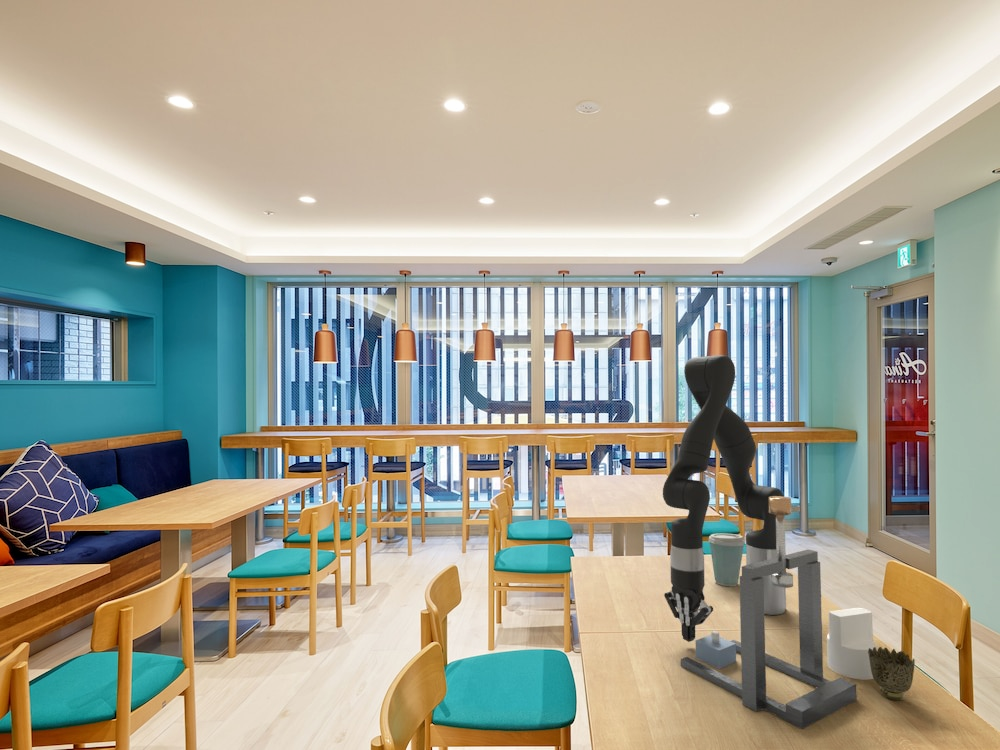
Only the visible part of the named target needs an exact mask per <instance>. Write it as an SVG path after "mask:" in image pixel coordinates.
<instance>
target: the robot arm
mask: <svg viewBox="0 0 1000 750" xmlns="http://www.w3.org/2000/svg"><path fill="white" fill-rule="evenodd" d="M683 372H684V373H683V374H684V379H685V381H686V385H687V387H688V389H689V391H690V393H691V395H692V397H693V399H694V400H695V402H696V404H697V406H698V407H699V409H700V410H699V412H698V413H697V414H696V416H695V417H694V418H693V419H692V421H690V422H689V424H688V425H687V427H686V428H685V431H684V432H683V435H682V438H681V442H680V447H679V452H678V457H677V459H676V461H675V463H674V465H673V466H672V468H671V471H670V472H669V473H668V476H667V477H666V480H665V481H664V484H663V487H662V498H663V501H664V503H665V504H666V505H667V506H668V507H670V508H674V509H680V510H686V511H688V514H687V517H685V518H684V517H683V518H681V517H680V518H676V519H673V520H672V522H671V525H670V536H671V537H670V538H671V539H670V540H671V541H670V542H671V543H670V552H669V553H670V555H669V557H670V559H669V560H670V583H671V585H672V586H671V590H670V591H668V592H664V594H663V596H664V599H665V601H666V602H667V605H668V607H669V609H670V611H671V613H672V615H673V616H674V618H675V619H678V620H679V622H680V623H681V636H682V639H683V640H684V641H686V642H688V643H689V642H692V641H694V640H695V639H696V626H698V625H702V624H704V622H705V621H706V620H707V618H708V617H709V616H710V615H711V614H712V612H714V607H713V606H712V605H709V604H707V602H706V601H705V594H704V588H705V554H704V544H703V543H704V542H703V541H704V540H703V539H704V538H703V537H704V536H703V528H704V523H705V520H706V515H707V511H708V508H709V506H710V505H709V504H710V499H711V494H710V493H711V492H710V490H709V487H708V486H707V485H706V483H705V482H703V481H701V480H695V479H689V478H690V477H691V476H692V475H695V474H700V473H704V472H706V471H707V469H708V467H709V463H710V458H711V453H712V448H713V442H714V443H715V445H716V448H717V451H718V452H719V454H720V457H721V460H722V461H723V464H724V466H725V468H726V471H727V474H728V477H729V479H730V482H731V486H732V488H733V492H734V495H735V501H736V502H737V505H738V508H739V510H740V512H741V513H742V515H743V516H745V517H747V518H750V519H752V520H753V519H754V520H760V521H763V527H762V528H761V529H757V530H756V529H755V530H751V531H749V532H746V535H745V554H746V555H745V557H746V559H745V561H746V565H749V564H753V563H757V562H761V561H765V560H769V559H773V558H774V559H777V549H776V515H775V514H771V513H769V497H771V496H781V497H785V495H784V493H783V491H782V490H781V489H780V488H777V487H773V486H765V485H758V484H755V483H754V482H753V480H752V477H751V473H750V469H751V466H752V464H753V462H754V459H755V457H756V451H757V447H756V443H755V440H754V438H753V435H752V432H751V429H750V428H749V425H748V424H747V423H746V421H745V420H744V419H743V418H741V417H740V416H739V415H738V414H737V413H736V412H734V410H732V409H731V408H730V407H729V406H727V403H728V401H729V397H730V395H731V392H732V391H733V387H734V384H735V379H736V367H735V364H734V362H733V360H732V358H730V357H729V356H727V355H725V354H720V355H719V354H718V355H716V354H715V355H707V356H705V355H704V356H698V357H697V356H696V357H692V358H689V359H688V360H686V363H685V365H684V371H683ZM746 565H745V566H746ZM762 578H764V615H770V616H772V615H774V616H775V615H782V614H784V613H785V610H786V609H787V595H786V593H787V591H786V589H787V588H784V587H777V586H774V585H772V584H771V576H770V575H768V576H764V577H762Z"/></svg>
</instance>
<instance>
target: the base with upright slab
mask: <svg viewBox="0 0 1000 750" xmlns="http://www.w3.org/2000/svg"><path fill="white" fill-rule="evenodd" d="M873 630H874V629H873V612H872V611H871V610H869V609H866V608H863V607H860V606H859V607H852V608H851V607H850V608H846V609H845V608H844V609H838V610H836V609H835V610H831V611H830V610H829V611H828V633H827V635H826V655H827V656H826V657H827V663H826V664H827V666H828V668H829V669H830V670H832V671H833V672H835V673H837V674H839V675H841V676H844V677H846V678H851V679H856V680H865V681H867V680H872V679H873V680H874V678H873V676H872V672H871V667H870V660H869V654H868V650H869V648H870V649H872V651H873V648H874V647H875V648H876V649H877V643H876V642H875V641H874V635H873V634H874V633H873Z"/></svg>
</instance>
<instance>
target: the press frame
mask: <svg viewBox="0 0 1000 750" xmlns="http://www.w3.org/2000/svg"><path fill="white" fill-rule="evenodd" d="M818 554H819V553H818V551H817V550H812V549H805V550H801V551H796V552H793V553H788V554H786V570H792V569H795V568H797V586H798V589H797V591H798V623H799V624H798V626H799V627H798V629H799V630H798V631H799V634H798V635H799V666H797V665H794V664H792V663H789V662H787V661H785V660H783V659H780V658H777V657H776V656H773V655H771V654H769V653H766V634H765V633H766V632H765V631H766V629H765V625H766V623H765V614H764V578H762V577H764V576H768V575H771V574H775V573H778V572H782V571H783V561H781V560H777V559H774V558H773V559H769V560H765V561H761V562H757V563H753V564H749V565H741V575H739V610H740V611H739V614H740V615H739V616H740V617H739V618H740V620H739V621H740V641H738V640H736V639H732V640H730V641H731V642H733V643H736V653H738V654H740V661H741V663H740V664H741V665H740V666H741V682H739V681H737V680H735V679H733V678H730V677H729V676H727V675H725V674H723V673H721V672H718V671H717V670H716V669H713V668H710V667H709V666H706V665H705V664H702V663H700V662H698V661H697V660H694V659H692V658H690V657H689V656H684V657H683V658H680V667H681V668H684V669H685V670H688V671H689V672H691V673H693V674H696V675H697V676H699V677H702V678H703V679H705V680H707V681H709V682H711V683H712V684H715V685H717V686H718V687H721V688H723V689H724V690H727V692H729V693H732V694H734V695H736V696H738V697H740V698H741V704H742V706H745V707H746V708H747V709H750V710H752V711H754V712H755V713H756V712H760V711H762V710H764V711H767V712H768V713H770V714H772V715H775V716H776V717H778V718H780V719H782V720H784V721H786V722H788V723H790V724H791V725H793V726H795V727H797V728H799V729H801V730H804V729H805V728H807V727H809V726H811V725H813V724H814V723H816V722H818V721H820V720H822V719H824V718H826V717H827V716H830V715H831V714H833V713H835V712H837V711H839V710H841V709H843V708H844V707H846V706H847V705H850V704H852V703H854V702H855V701H857V700H858V696H857V693H858V692H857V684H856V683H855V682H853V681H851V680H847V679H845V678H843V677H841V676H839V677H838V678H836V679H833V680H829V679H827V678H825V677H824V663H823V659H824V658H823V657H824V655H823V622H822V621H823V620H822V619H823V618H822V613H823V612H822V585H821V584H822V582H821V581H822V580H821V577H822V576H821V575H822V573H821V561H818V560H819V559H818V558H819V557H818V556H819V555H818ZM766 666H767V667H770V668H772V669H774V670H777V671H779V672H781V673H782V674H785V675H788V676H790V677H793V678H795V679H797V680H799V681H801V682H804V683H805V684H808V685H810V686H812V687H814V688H816V689H813V690H811V691H809V692H807V693H805V694H803V695H801V696H798V697H797V698H795V699H792V700H791V701H788V702H786V703H785V704H783V703H781V702H779V701H778V700H776V699H773V698H771V697H769V696H767V675H766V674H767V673H766V672H767V670H766Z"/></svg>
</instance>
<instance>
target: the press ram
mask: <svg viewBox="0 0 1000 750" xmlns="http://www.w3.org/2000/svg"><path fill="white" fill-rule="evenodd" d="M769 513H771V514H775V515H776V549H777V560H781V561H783V571H782V572H778V573H775V574H771V575H770V576H771V584H772V585H774V586H777V587H784V588H786V589H787V588H788V589H790V588H793V587H794V575H793V573H792V572H791V573H790V572H789V571H788V572H787V568H786V555H787V553H786V516H791V515H792V498H791V497H787V496H784V497H781V496H771V497H769Z"/></svg>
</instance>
